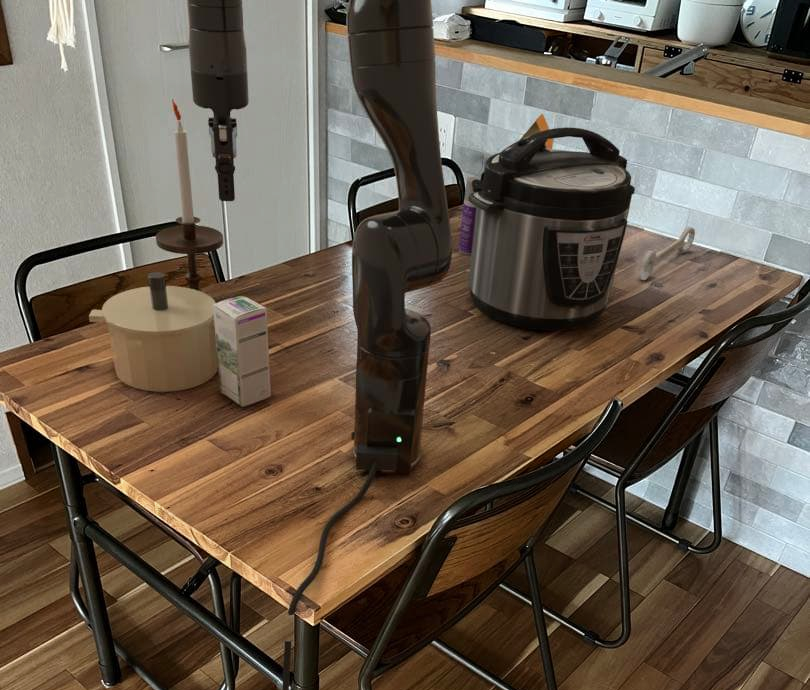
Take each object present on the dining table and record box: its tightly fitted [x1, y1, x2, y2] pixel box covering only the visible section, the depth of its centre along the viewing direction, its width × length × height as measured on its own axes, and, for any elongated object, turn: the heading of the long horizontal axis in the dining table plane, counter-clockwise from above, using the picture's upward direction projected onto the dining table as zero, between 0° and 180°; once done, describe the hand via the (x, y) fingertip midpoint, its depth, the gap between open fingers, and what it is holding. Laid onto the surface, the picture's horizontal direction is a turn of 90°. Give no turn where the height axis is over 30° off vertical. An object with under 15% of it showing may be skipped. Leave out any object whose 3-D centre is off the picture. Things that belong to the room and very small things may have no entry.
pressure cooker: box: [467, 127, 636, 331], centre depth 153 cm, size 30×28×32 cm
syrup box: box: [213, 295, 272, 408], centre depth 124 cm, size 6×6×14 cm
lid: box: [101, 271, 217, 335], centre depth 126 cm, size 17×17×6 cm
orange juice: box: [519, 113, 555, 149], centre depth 209 cm, size 8×9×20 cm
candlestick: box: [155, 98, 224, 292], centre depth 138 cm, size 11×11×35 cm
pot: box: [88, 309, 218, 393], centre depth 131 cm, size 16×21×10 cm
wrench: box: [640, 226, 696, 281], centre depth 183 cm, size 28×2×6 cm, turn 145°
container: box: [458, 176, 481, 256], centre depth 179 cm, size 5×5×15 cm
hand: (226, 191), depth 124 cm, fingers open, 8 cm apart
